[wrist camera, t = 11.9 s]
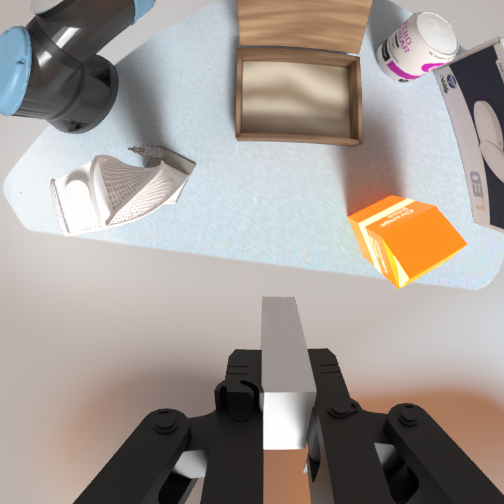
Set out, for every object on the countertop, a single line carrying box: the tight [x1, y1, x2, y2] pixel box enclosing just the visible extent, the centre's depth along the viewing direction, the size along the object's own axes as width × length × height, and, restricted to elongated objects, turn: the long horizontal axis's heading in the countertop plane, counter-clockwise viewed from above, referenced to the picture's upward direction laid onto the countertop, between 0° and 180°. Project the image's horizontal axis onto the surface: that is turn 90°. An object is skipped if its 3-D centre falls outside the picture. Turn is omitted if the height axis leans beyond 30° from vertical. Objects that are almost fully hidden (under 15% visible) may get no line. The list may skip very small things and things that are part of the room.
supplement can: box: [377, 12, 459, 83], centre depth 32 cm, size 8×8×15 cm
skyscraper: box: [50, 145, 196, 236], centre depth 33 cm, size 8×8×28 cm
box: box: [236, 48, 363, 147], centre depth 40 cm, size 14×18×5 cm
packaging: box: [433, 37, 504, 233], centre depth 32 cm, size 30×6×20 cm, turn 20°
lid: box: [237, 0, 373, 54], centre depth 29 cm, size 1×17×13 cm
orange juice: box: [348, 195, 467, 289], centre depth 37 cm, size 8×9×20 cm
